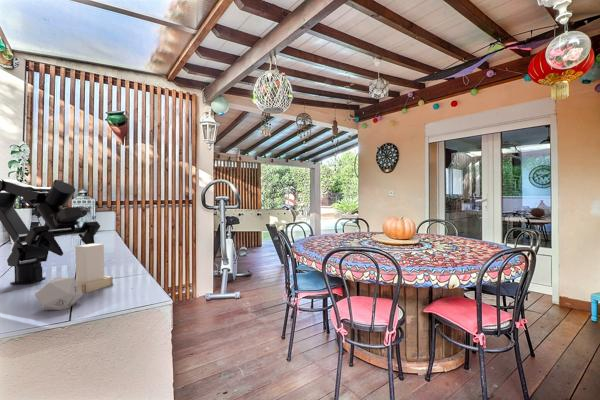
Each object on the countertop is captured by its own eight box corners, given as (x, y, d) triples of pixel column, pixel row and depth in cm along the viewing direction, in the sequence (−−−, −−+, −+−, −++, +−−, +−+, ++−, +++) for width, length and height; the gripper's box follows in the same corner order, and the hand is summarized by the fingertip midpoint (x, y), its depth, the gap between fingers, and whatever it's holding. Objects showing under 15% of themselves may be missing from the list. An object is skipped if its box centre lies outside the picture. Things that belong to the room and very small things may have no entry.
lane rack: (44, 291, 87) (44, 280, 87) (79, 282, 96) (79, 272, 96) (81, 297, 81) (80, 285, 81) (114, 286, 91) (114, 276, 91)
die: (43, 322, 66) (74, 285, 69) (17, 302, 68) (49, 266, 71) (69, 320, 74) (96, 287, 77) (46, 302, 75) (73, 270, 78)
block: (76, 289, 86) (75, 246, 86) (93, 284, 90) (92, 243, 90) (87, 291, 84) (86, 246, 84) (104, 286, 89) (103, 244, 89)
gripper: (29, 198, 82) (55, 238, 78) (96, 198, 99) (119, 230, 96) (14, 225, 85) (38, 265, 81) (81, 220, 102) (103, 252, 98)
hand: (78, 251), depth 89 cm, fingers open, 9 cm apart
